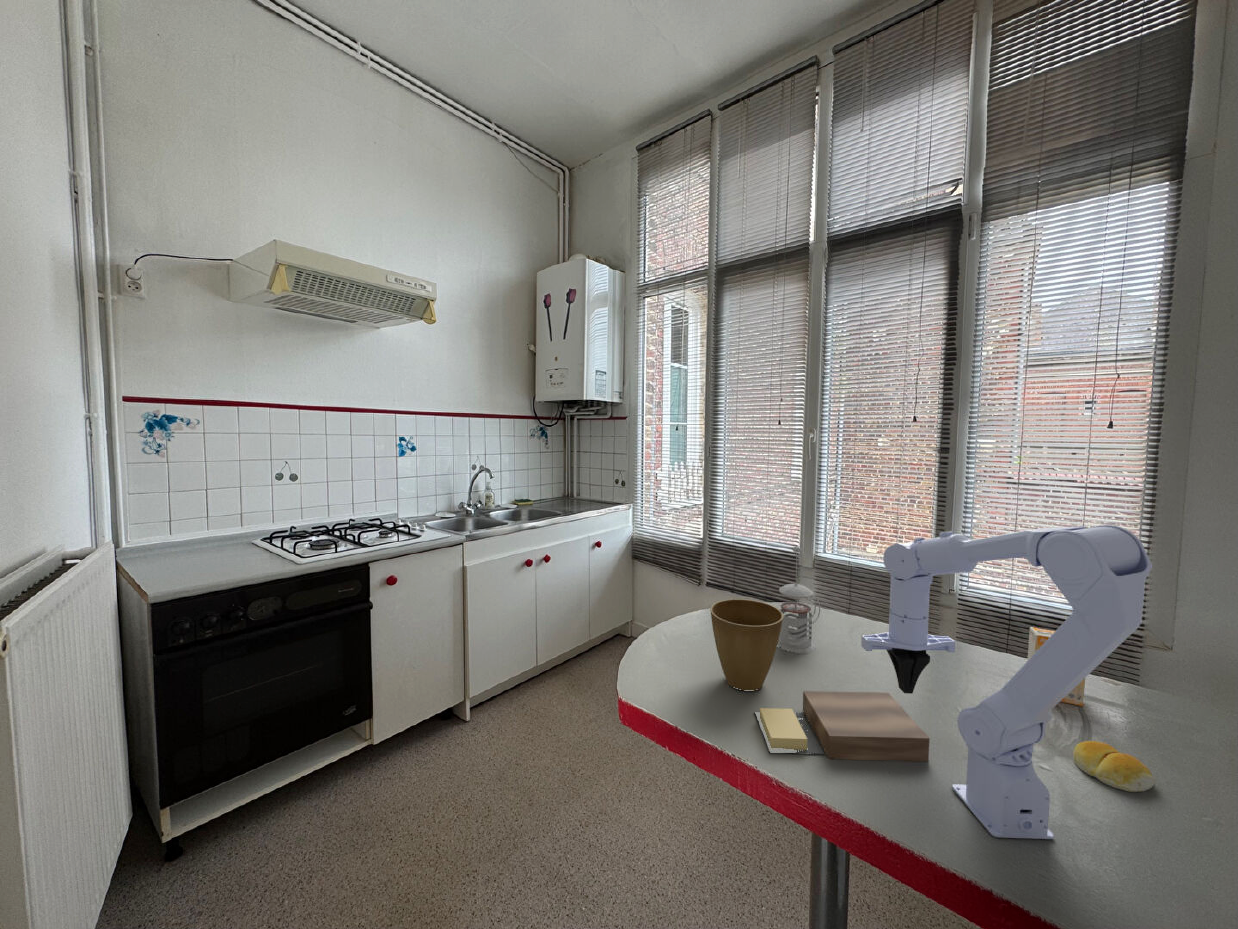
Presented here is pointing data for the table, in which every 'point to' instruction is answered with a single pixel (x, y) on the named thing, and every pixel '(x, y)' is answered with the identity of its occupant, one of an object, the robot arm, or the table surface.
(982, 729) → the robot arm
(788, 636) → the french press
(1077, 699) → the supplement box
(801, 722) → the mat
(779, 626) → the plant pot
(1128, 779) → the bread roll
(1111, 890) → the table surface
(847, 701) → the board
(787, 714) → the pale yellow block
